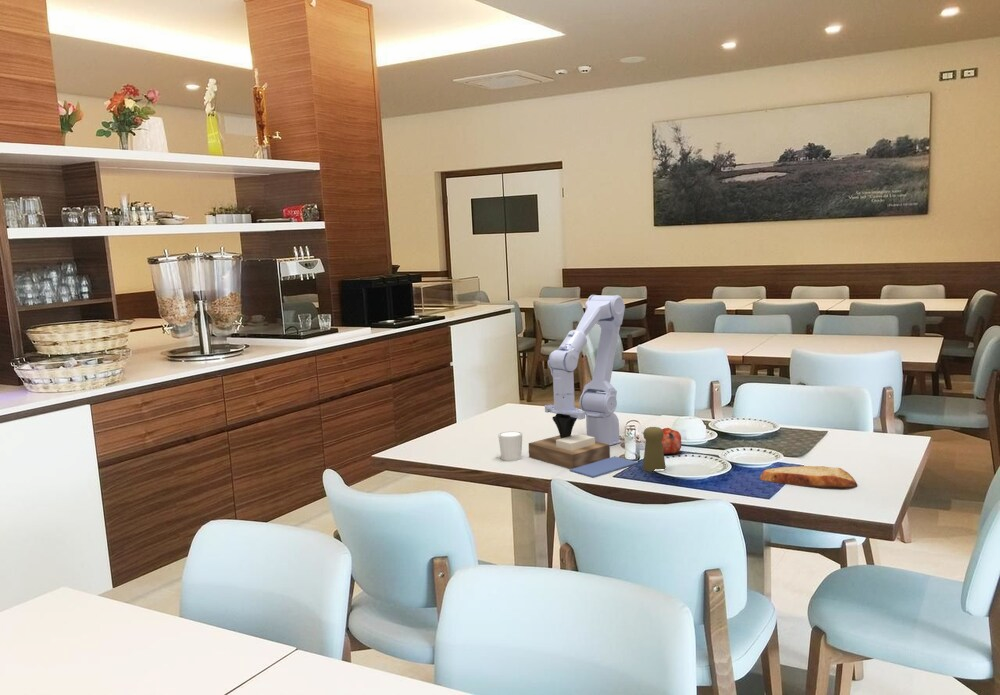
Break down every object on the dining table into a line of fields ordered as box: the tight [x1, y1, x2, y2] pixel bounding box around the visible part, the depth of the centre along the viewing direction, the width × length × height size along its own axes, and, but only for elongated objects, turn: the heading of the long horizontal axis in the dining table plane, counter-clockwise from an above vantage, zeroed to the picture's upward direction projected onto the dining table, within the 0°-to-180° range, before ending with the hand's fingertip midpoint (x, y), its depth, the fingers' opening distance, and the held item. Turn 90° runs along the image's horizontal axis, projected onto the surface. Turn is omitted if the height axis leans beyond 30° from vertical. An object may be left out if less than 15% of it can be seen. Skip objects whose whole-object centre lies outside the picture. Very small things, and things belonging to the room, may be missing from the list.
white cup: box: [498, 430, 523, 462], centre depth 229 cm, size 7×7×7 cm
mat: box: [569, 456, 639, 479], centre depth 216 cm, size 17×9×1 cm, turn 128°
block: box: [556, 433, 595, 451], centre depth 223 cm, size 9×6×2 cm, turn 128°
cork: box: [642, 426, 667, 473], centre depth 212 cm, size 6×6×11 cm
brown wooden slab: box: [528, 434, 611, 470], centre depth 226 cm, size 14×18×4 cm
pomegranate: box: [661, 427, 682, 455], centre depth 226 cm, size 7×7×10 cm
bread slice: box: [759, 465, 858, 489], centre depth 196 cm, size 18×18×4 cm
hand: (565, 440), depth 227 cm, fingers closed
